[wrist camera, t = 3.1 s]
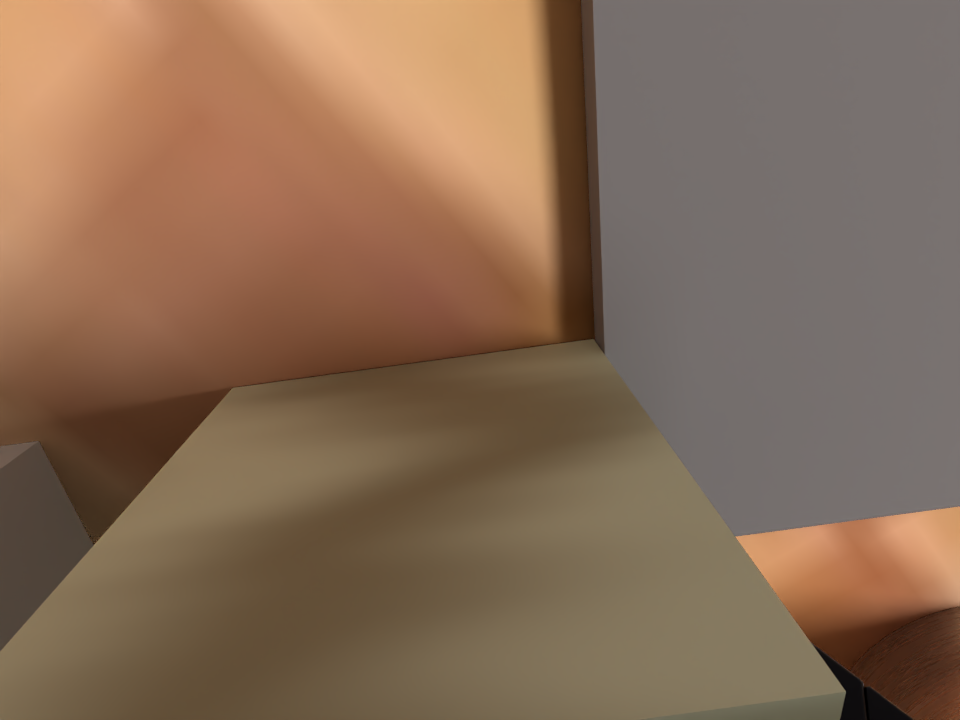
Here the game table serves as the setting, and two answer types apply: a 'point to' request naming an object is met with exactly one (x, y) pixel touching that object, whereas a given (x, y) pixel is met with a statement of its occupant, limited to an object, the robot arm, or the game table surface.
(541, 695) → the sage block
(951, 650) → the metal tin
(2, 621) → the slate block
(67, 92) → the game table surface
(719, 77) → the mat
